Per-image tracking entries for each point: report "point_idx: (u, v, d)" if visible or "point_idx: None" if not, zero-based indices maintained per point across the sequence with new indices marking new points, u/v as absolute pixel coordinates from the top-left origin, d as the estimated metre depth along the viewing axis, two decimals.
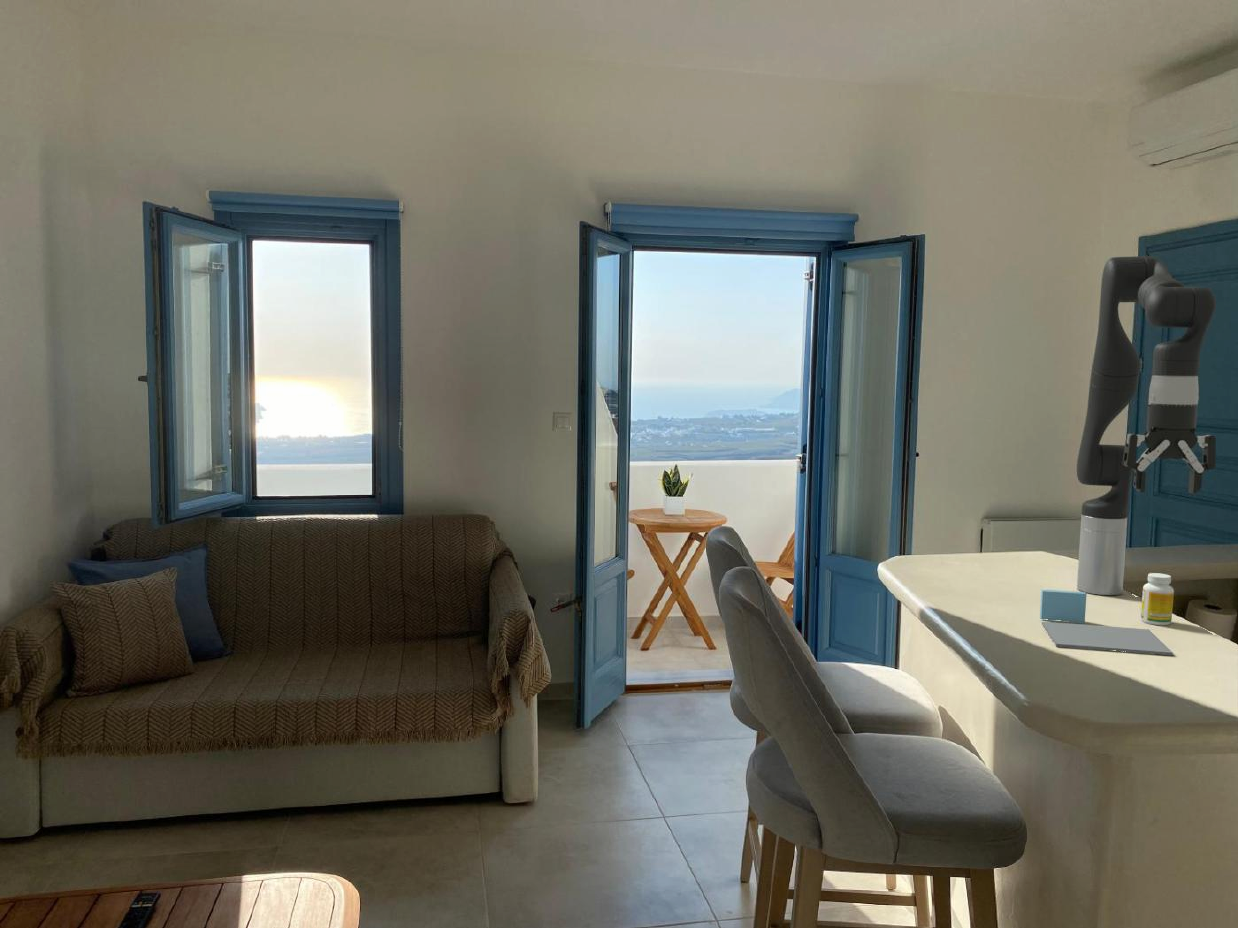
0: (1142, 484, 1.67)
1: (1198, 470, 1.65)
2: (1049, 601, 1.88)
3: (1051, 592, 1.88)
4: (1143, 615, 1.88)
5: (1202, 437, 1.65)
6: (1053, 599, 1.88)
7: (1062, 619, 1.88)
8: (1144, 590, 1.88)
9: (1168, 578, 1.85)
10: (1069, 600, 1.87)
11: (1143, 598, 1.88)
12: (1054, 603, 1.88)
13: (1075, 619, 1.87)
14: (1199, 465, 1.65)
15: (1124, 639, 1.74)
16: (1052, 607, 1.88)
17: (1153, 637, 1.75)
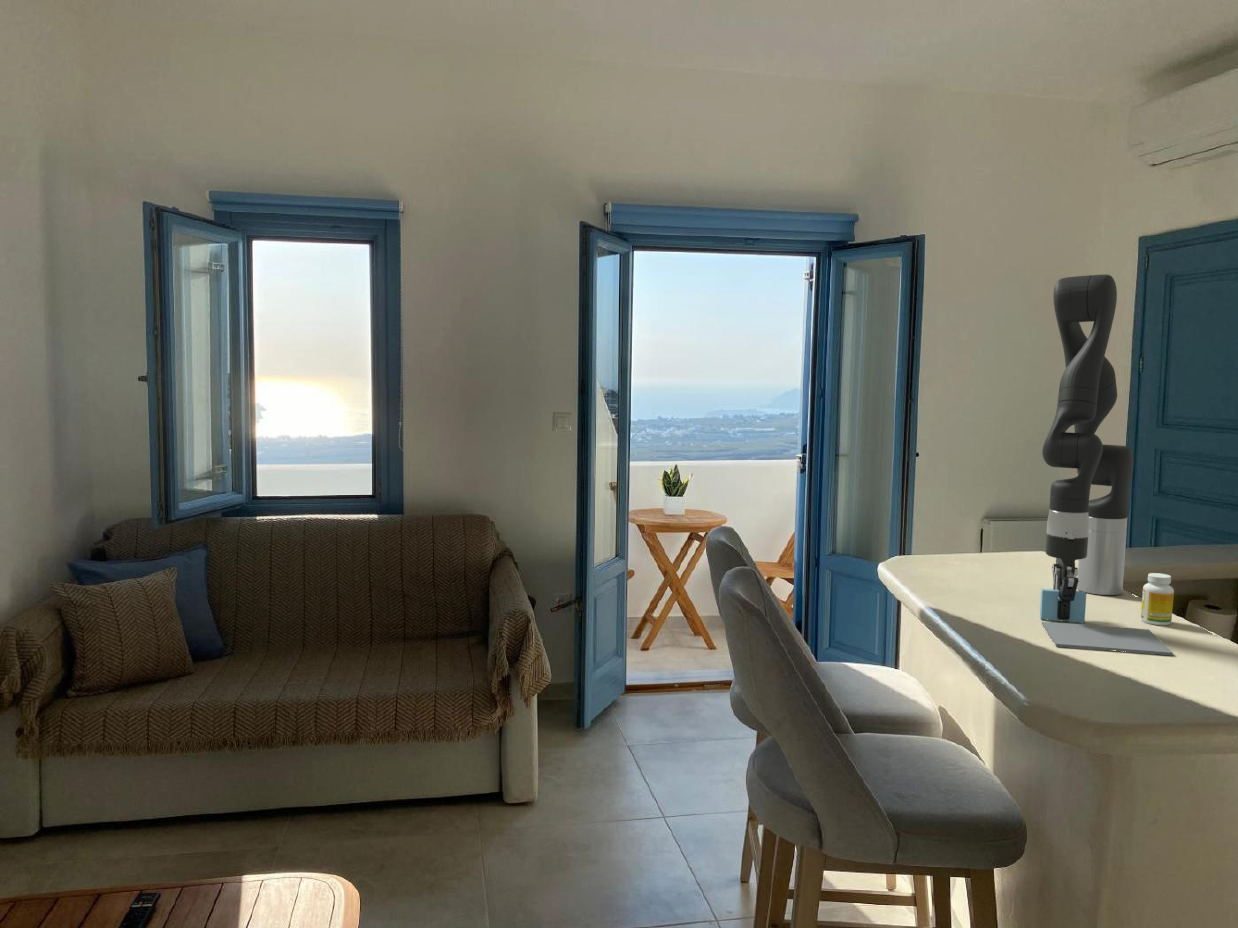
0: (1069, 612, 1.87)
1: None
2: (1049, 600, 1.88)
3: (1051, 591, 1.88)
4: (1143, 615, 1.88)
5: None
6: (1053, 598, 1.88)
7: None
8: (1144, 590, 1.88)
9: (1168, 578, 1.85)
10: None
11: (1143, 598, 1.88)
12: (1054, 602, 1.88)
13: (1075, 618, 1.87)
14: None
15: (1124, 639, 1.74)
16: (1052, 606, 1.88)
17: (1153, 637, 1.75)
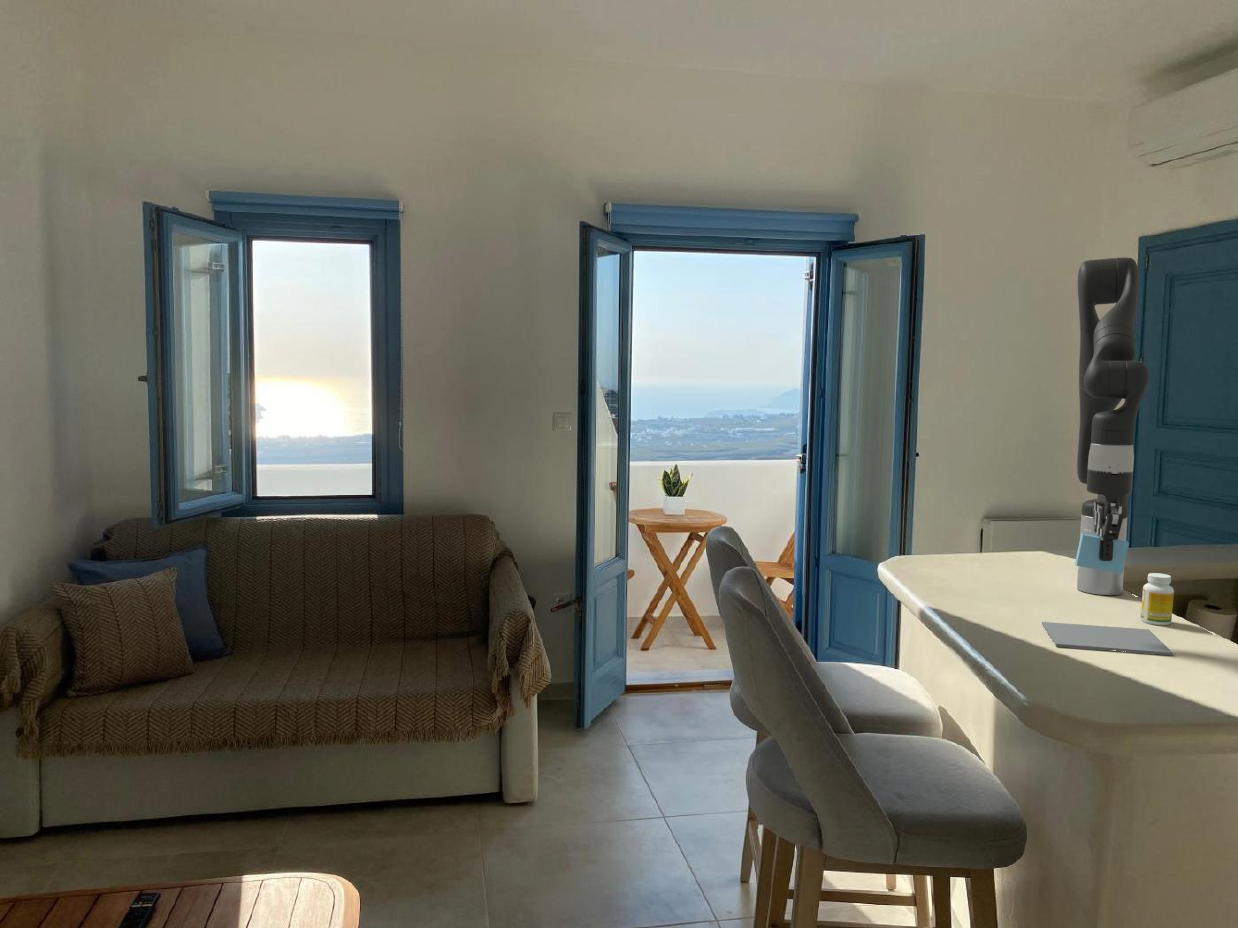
0: None
1: None
2: (1088, 546, 1.77)
3: (1092, 537, 1.77)
4: (1143, 615, 1.88)
5: None
6: (1093, 545, 1.77)
7: (1099, 567, 1.77)
8: (1144, 590, 1.88)
9: (1168, 578, 1.85)
10: None
11: (1143, 598, 1.88)
12: (1093, 549, 1.77)
13: (1113, 568, 1.76)
14: None
15: (1124, 639, 1.74)
16: (1090, 553, 1.77)
17: (1153, 637, 1.75)
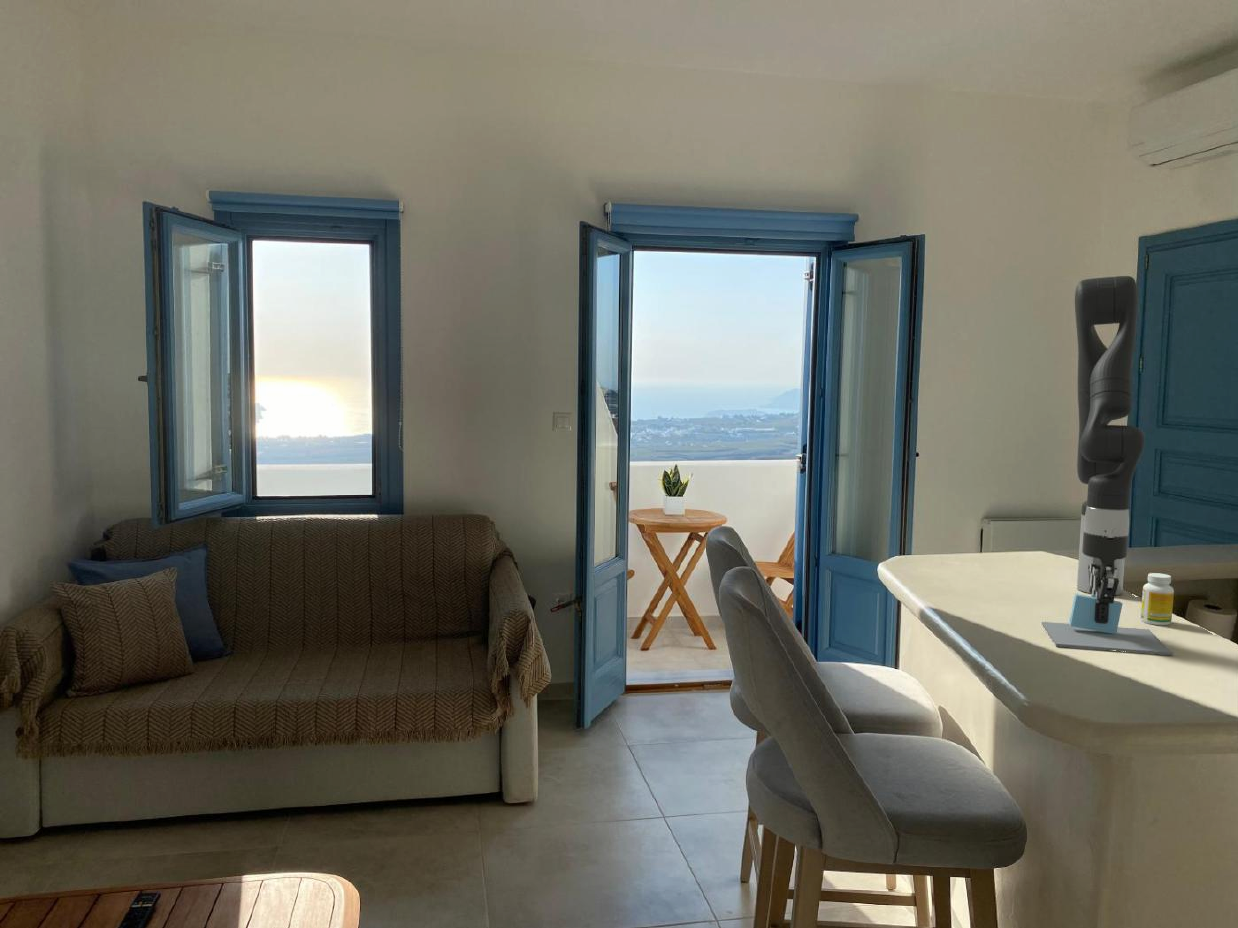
0: None
1: None
2: (1082, 607, 1.78)
3: (1085, 598, 1.78)
4: (1143, 615, 1.88)
5: None
6: (1086, 605, 1.78)
7: (1093, 627, 1.78)
8: (1144, 590, 1.88)
9: (1168, 578, 1.85)
10: None
11: (1143, 598, 1.88)
12: (1087, 609, 1.78)
13: (1107, 629, 1.77)
14: None
15: (1124, 639, 1.74)
16: (1084, 613, 1.78)
17: (1153, 637, 1.75)
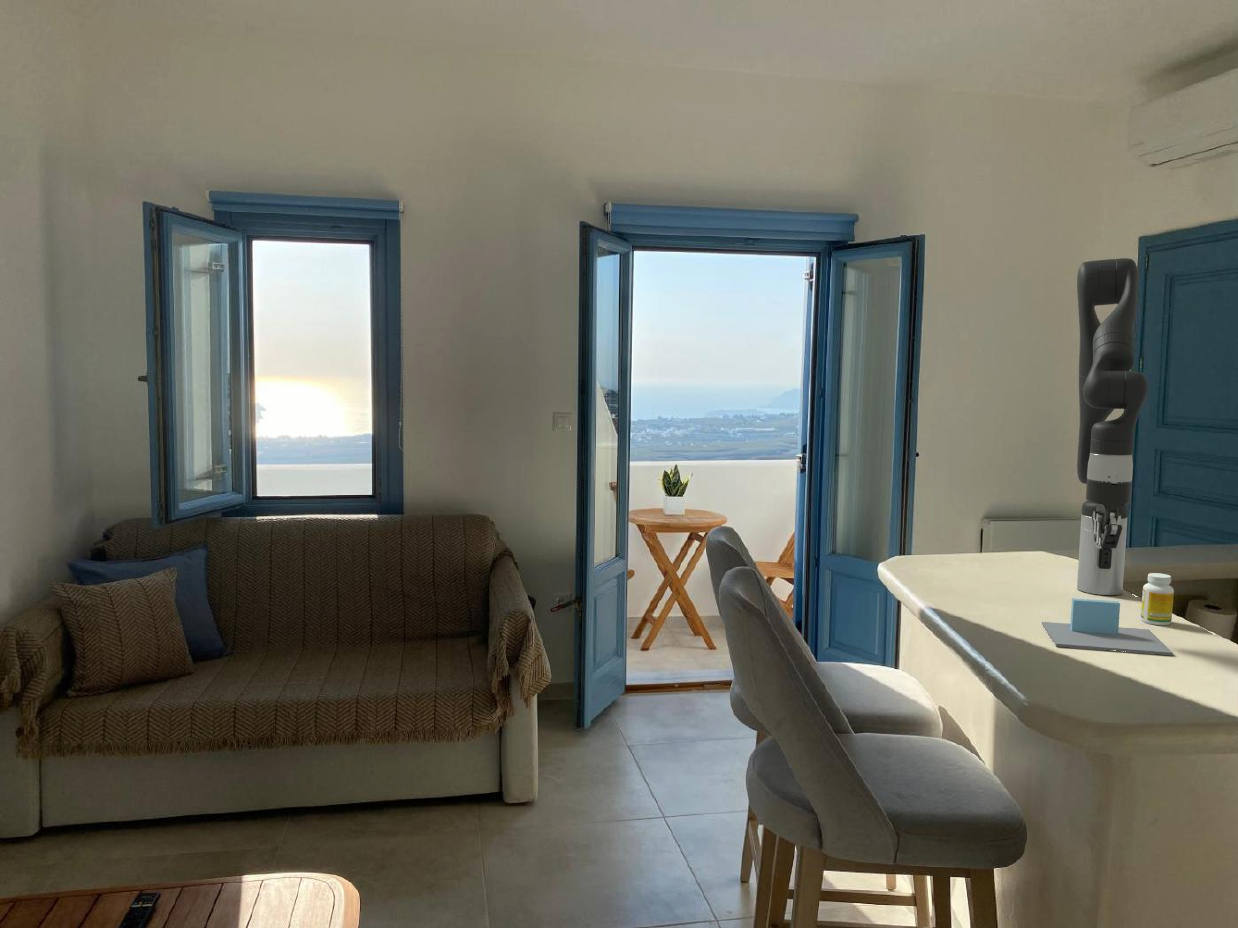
0: (1111, 561, 1.78)
1: None
2: (1080, 611, 1.78)
3: (1082, 601, 1.78)
4: (1143, 615, 1.88)
5: None
6: (1084, 609, 1.78)
7: (1094, 630, 1.78)
8: (1144, 590, 1.88)
9: (1168, 578, 1.85)
10: (1102, 610, 1.77)
11: (1143, 598, 1.88)
12: (1085, 613, 1.78)
13: (1108, 630, 1.77)
14: None
15: (1124, 639, 1.74)
16: (1083, 617, 1.78)
17: (1153, 637, 1.75)
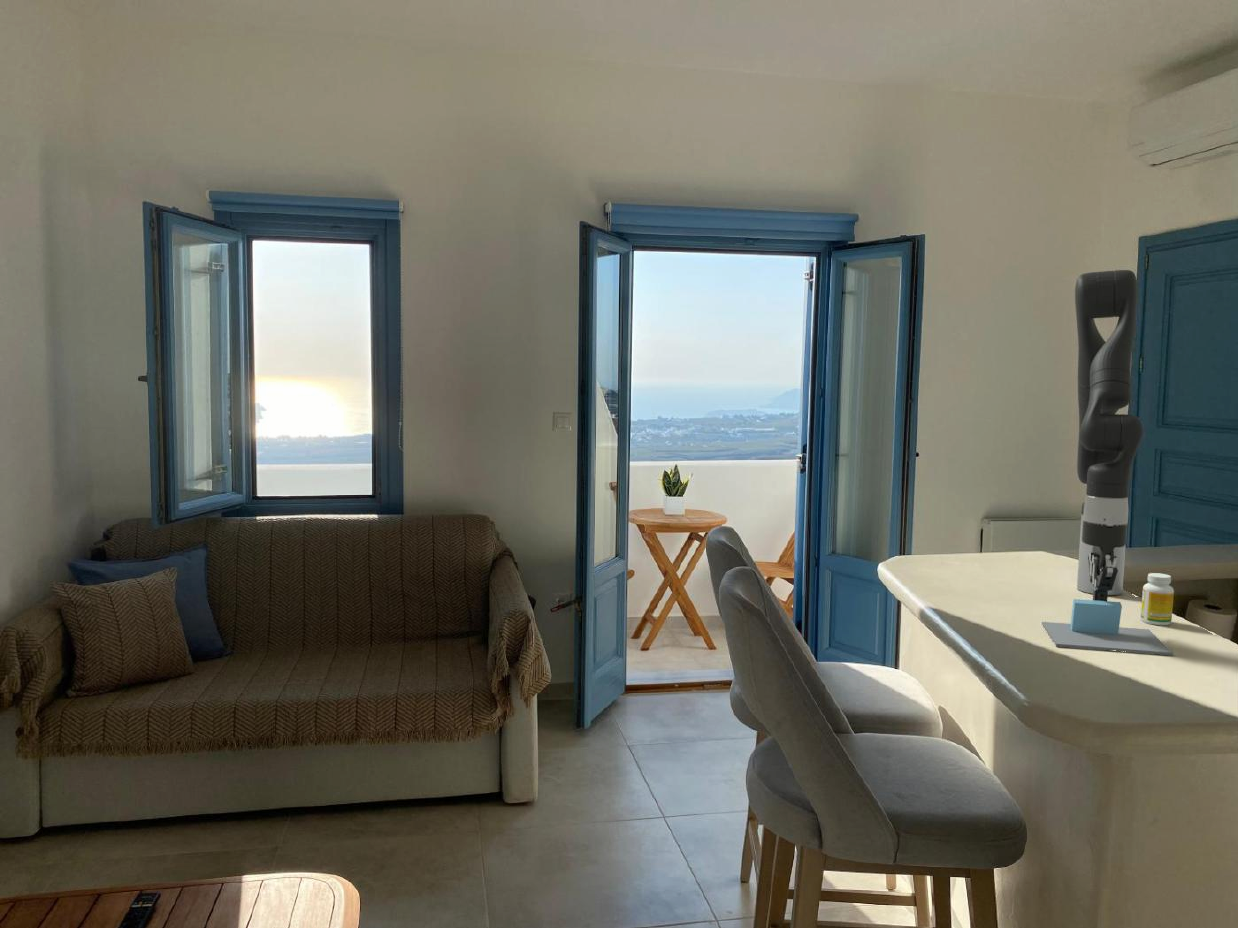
0: None
1: None
2: (1081, 612, 1.78)
3: (1084, 604, 1.77)
4: (1143, 615, 1.88)
5: None
6: (1086, 611, 1.77)
7: (1094, 630, 1.78)
8: (1144, 590, 1.88)
9: (1168, 578, 1.85)
10: (1103, 612, 1.76)
11: (1143, 598, 1.88)
12: (1086, 614, 1.77)
13: (1108, 630, 1.77)
14: None
15: (1124, 639, 1.74)
16: (1084, 618, 1.78)
17: (1153, 637, 1.75)
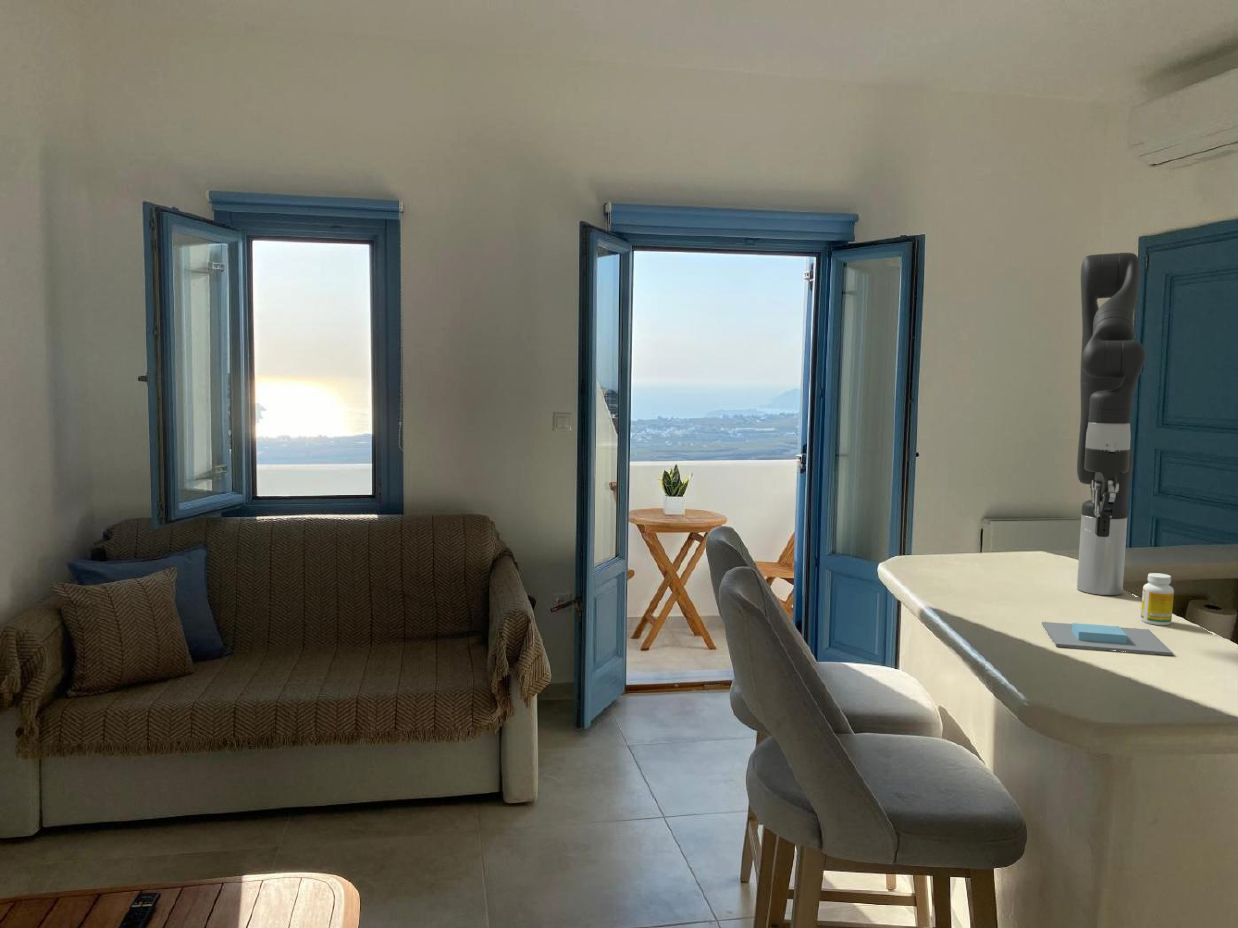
0: None
1: None
2: None
3: (1087, 640, 1.73)
4: (1143, 615, 1.88)
5: None
6: None
7: None
8: (1144, 590, 1.88)
9: (1168, 578, 1.85)
10: None
11: (1143, 598, 1.88)
12: None
13: None
14: None
15: None
16: None
17: (1153, 637, 1.75)
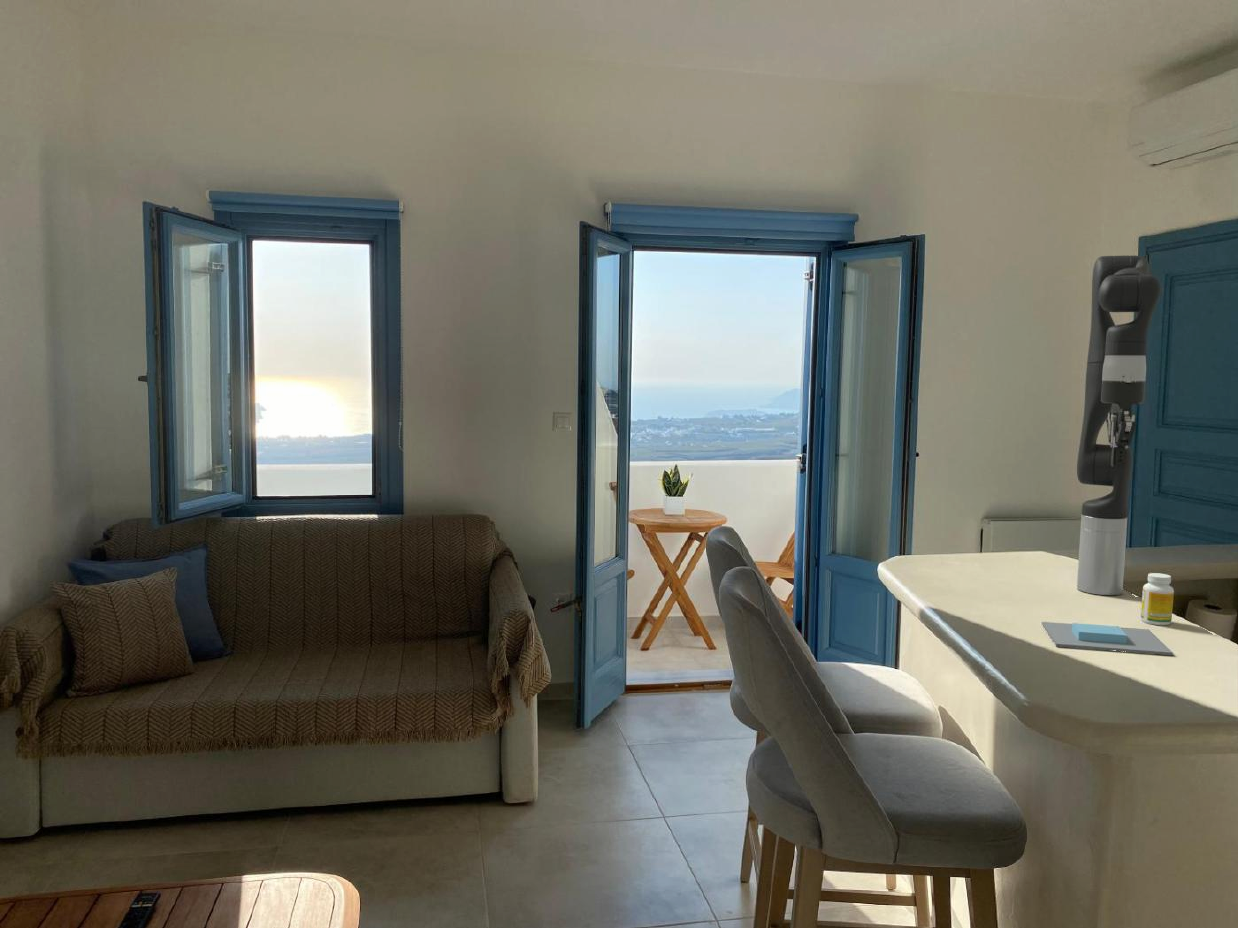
0: (1125, 460, 1.85)
1: None
2: None
3: (1087, 640, 1.73)
4: (1143, 615, 1.88)
5: None
6: None
7: None
8: (1144, 590, 1.88)
9: (1168, 578, 1.85)
10: None
11: (1143, 598, 1.88)
12: None
13: None
14: None
15: None
16: None
17: (1153, 637, 1.75)
